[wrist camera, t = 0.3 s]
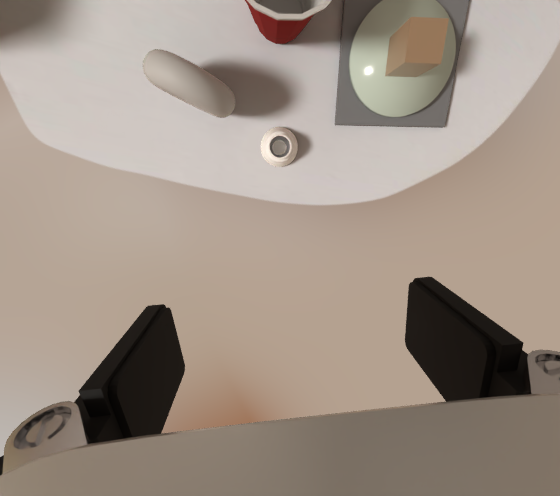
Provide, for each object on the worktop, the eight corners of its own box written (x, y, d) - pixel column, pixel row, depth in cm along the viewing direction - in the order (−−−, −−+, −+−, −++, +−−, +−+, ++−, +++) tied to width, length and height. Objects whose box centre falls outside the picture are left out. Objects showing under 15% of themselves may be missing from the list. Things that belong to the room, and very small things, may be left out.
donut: (160, 91, 34) (119, 65, 25) (168, 63, 33) (128, 24, 24) (233, 127, 36) (222, 116, 26) (243, 101, 35) (235, 80, 25)
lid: (354, -7, 31) (373, -43, 26) (460, -1, 32) (503, -36, 26) (343, 116, 35) (358, 108, 30) (438, 118, 36) (471, 111, 30)
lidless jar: (255, 136, 36) (268, 171, 38) (254, 134, 34) (269, 172, 35) (289, 122, 36) (302, 158, 38) (291, 119, 33) (304, 158, 35)
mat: (344, -15, 32) (346, -18, 31) (467, -9, 32) (471, -12, 32) (334, 125, 36) (335, 124, 36) (441, 127, 37) (444, 127, 36)
